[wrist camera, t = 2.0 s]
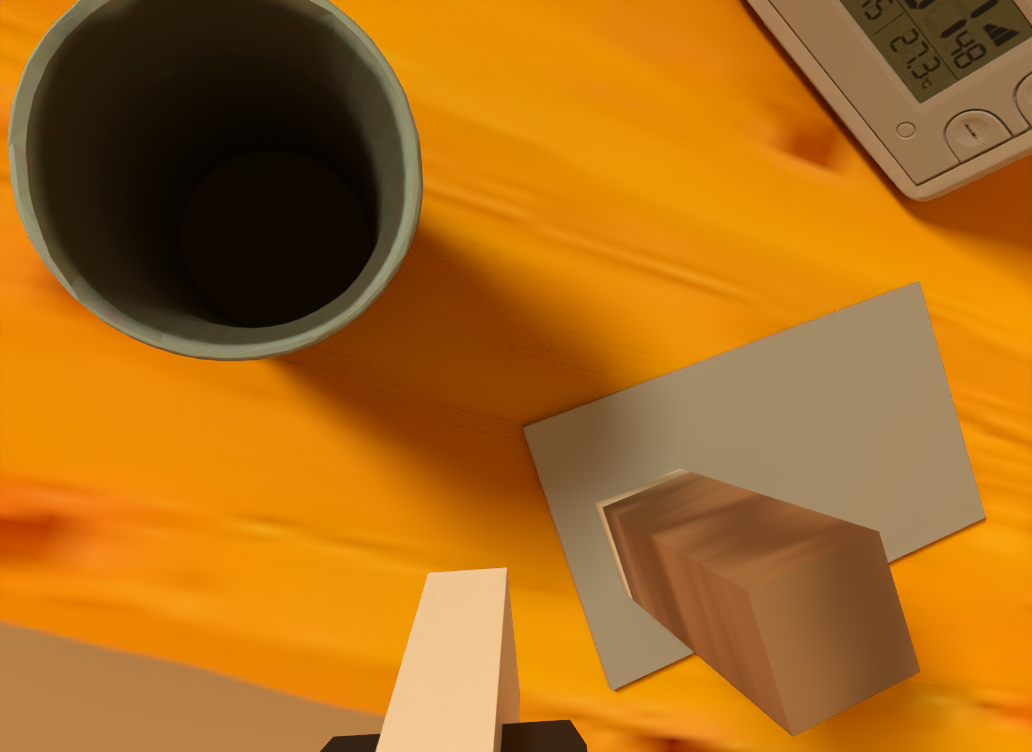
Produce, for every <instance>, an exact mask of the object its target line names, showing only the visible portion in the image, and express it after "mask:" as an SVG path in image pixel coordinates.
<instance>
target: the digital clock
mask: <svg viewBox="0 0 1032 752" xmlns="http://www.w3.org/2000/svg"><path fill="white" fill-rule="evenodd" d="M747 1H748V2H749V4H750V5H751V6H752V7H753V9H754V10H755V11H756V13H757V14H758V15H759V16H760V18H761V19H762V20H763V21H762V23H763V24H764V25H765V27H766V28H767V29H768V30H769V32H770V33H771V34H772V35H773V36H774V38H775V39H776V40H777V41H778V43H779V44H780V45H781V46H782V48H783V49H784V50H785V51H786V53H787V54H788V55H789V56H790V58H791V59H792V60H793V61H794V63H795V64H796V65H797V66H798V68H799V69H800V70H801V71H802V73H803V74H804V75H805V76H806V78H807V79H808V80H809V81H810V83H811V84H812V85H813V86H814V88H815V89H816V90H817V91H818V93H819V94H820V95H821V96H822V97H823V99H824V100H825V101H826V102H827V104H828V105H829V106H830V107H831V109H832V110H833V111H834V112H835V114H836V115H837V116H838V117H839V119H840V120H841V121H842V122H843V124H844V125H845V126H846V127H847V129H848V130H849V131H850V132H851V134H852V135H853V136H854V137H855V139H856V140H857V141H858V142H859V144H860V145H861V146H862V147H863V149H864V150H865V151H866V152H867V154H868V155H869V156H870V157H871V156H872V157H873V158H874V160H875V161H876V162H877V163H878V165H879V166H880V167H881V168H882V169H883V171H884V172H885V173H886V174H887V175H888V177H889V178H890V179H891V180H892V181H893V182H894V184H895V185H896V186H897V187H898V188H899V189H900V190H901V191H902V193H903V194H905V195H906V196H907V197H909V198H910V199H912V200H915V201H917V202H926V201H930V200H934V199H936V198H939V197H941V196H944V195H946V194H948V193H950V192H952V191H954V190H957V189H959V188H961V187H963V186H965V185H967V184H969V183H971V182H974V181H976V180H978V179H980V178H982V177H984V176H986V175H988V174H991V173H993V172H995V171H997V170H999V169H1001V168H1003V167H1005V166H1007V165H1010V164H1012V163H1014V162H1016V161H1018V160H1020V159H1022V158H1024V157H1027V156H1029V155H1031V154H1032V0H747Z"/></svg>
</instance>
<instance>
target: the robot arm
mask: <svg viewBox="0 0 1032 752" xmlns="http://www.w3.org/2000/svg"><path fill="white" fill-rule="evenodd" d="M519 704H520V691H519V681H518V671H517V662H516V652H515V642H514V632H513V622H512V613H511V603H510V593H509V583H508V573H507V568H494V569H480V570H466V571H452V572H438V573H428V576H427V579H426V583H425V586H424V590H423V593H422V596H421V600H420V603H419V606H418V610H417V613H416V617H415V620H414V623H413V627H412V630H411V634H410V637H409V640H408V644H407V647H406V650H405V654H404V657H403V661H402V664H401V667H400V671H399V674H398V678H397V681H396V684H395V688H394V691H393V695H392V698H391V701H390V705H389V708H388V711H387V715H386V718H385V722H384V725H383V729H382V732H381V734H370V735H355V736H337V737H333V738H332V739H331V740H330V741H329V742H328V743H327V744H326V746H325V747H324V748H323V749H322V750H321V751H320V752H587V745H586V743H585V742H584V740H583V739H582V737H581V736H580V734H579V733H578V731H577V730H576V728H575V727H574V725H573V724H572V722H571V721H570V720H557V721H541V722H525V723H519Z"/></svg>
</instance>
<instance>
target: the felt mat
mask: <svg viewBox="0 0 1032 752" xmlns="http://www.w3.org/2000/svg"><path fill="white" fill-rule="evenodd" d="M522 429H523V432H524V435H525V438H526V441H527V444H528V447H529V450H530V453H531V456H532V459H533V462H534V465H535V468H536V471H537V474H538V476H539V479H540V482H541V485H542V488H543V491H544V494H545V497H546V500H547V503H548V506H549V509H550V512H551V515H552V518H553V521H554V524H555V527H556V530H557V533H558V536H559V539H560V542H561V545H562V548H563V551H564V554H565V557H566V560H567V563H568V566H569V569H570V572H571V575H572V578H573V581H574V584H575V587H576V590H577V593H578V596H579V599H580V602H581V605H582V608H583V611H584V614H585V617H586V620H587V623H588V626H589V629H590V632H591V635H592V638H593V641H594V644H595V647H596V650H597V653H598V656H599V659H600V662H601V665H602V668H603V671H604V674H605V677H606V680H607V683H608V686H609V688H610V689H611V690H615V689H617V688H619V687H621V686H623V685H625V684H628V683H630V682H632V681H634V680H636V679H638V678H641V677H643V676H645V675H647V674H649V673H651V672H653V671H656V670H658V669H660V668H662V667H664V666H666V665H669V664H671V663H673V662H675V661H677V660H679V659H681V658H684V657H686V656H688V655H690V654H692V653H694V652H693V651H692V650H691V649H690V648H688V647H687V646H686V645H685V644H684V643H683V642H681V641H680V640H679V639H678V638H677V637H676V636H674V635H673V634H672V633H671V632H670V631H669V630H667V629H666V628H665V627H664V626H663V625H662V624H660V623H659V622H658V621H657V620H656V619H655V618H653V617H652V616H651V615H650V614H649V613H648V612H646V611H645V610H644V609H643V608H642V607H641V606H639V605H638V604H637V603H636V602H635V601H634V600H632V599H631V598H630V597H629V596H628V595H626V594H625V593H624V589H623V586H622V583H621V580H620V577H619V574H618V571H617V568H616V565H615V562H614V559H613V556H612V553H611V550H610V547H609V544H608V541H607V538H606V535H605V532H604V529H603V526H602V523H601V520H600V517H599V513H598V510H597V507H596V504H595V503H596V502H599V501H601V500H604V499H606V498H609V497H611V496H614V495H616V494H619V493H621V492H624V491H626V490H629V489H631V488H634V487H636V486H639V485H641V484H644V483H646V482H649V481H651V480H654V479H656V478H659V477H661V476H664V475H666V474H669V473H671V472H674V471H676V470H679V469H683V470H687V471H690V472H693V473H696V474H699V475H702V476H706V477H709V478H712V479H715V480H718V481H721V482H724V483H728V484H731V485H734V486H737V487H740V488H743V489H747V490H750V491H753V492H756V493H759V494H762V495H766V496H769V497H772V498H775V499H778V500H781V501H784V502H788V503H791V504H794V505H797V506H800V507H803V508H807V509H810V510H813V511H816V512H819V513H822V514H826V515H829V516H832V517H835V518H838V519H841V520H845V521H848V522H851V523H854V524H857V525H860V526H863V527H867V528H870V529H873V530H876V531H879V533H880V537H881V540H882V543H883V547H884V550H885V554H886V557H887V560H888V563H889V562H891V561H893V560H895V559H897V558H899V557H901V556H904V555H906V554H908V553H910V552H912V551H914V550H917V549H919V548H921V547H923V546H925V545H927V544H930V543H932V542H934V541H936V540H938V539H940V538H942V537H945V536H947V535H949V534H951V533H953V532H955V531H958V530H960V529H962V528H964V527H966V526H968V525H970V524H973V523H975V522H977V521H979V520H981V519H983V518H986V517H985V514H984V510H983V507H982V503H981V500H980V496H979V492H978V489H977V485H976V482H975V478H974V475H973V471H972V467H971V464H970V460H969V457H968V453H967V450H966V446H965V443H964V439H963V435H962V432H961V428H960V425H959V421H958V418H957V414H956V410H955V407H954V403H953V400H952V396H951V393H950V389H949V385H948V382H947V378H946V375H945V371H944V368H943V364H942V361H941V357H940V353H939V350H938V346H937V343H936V339H935V336H934V332H933V328H932V325H931V321H930V318H929V314H928V311H927V307H926V304H925V300H924V296H923V293H922V289H921V286H920V282H916V283H912V284H909V285H906V286H904V287H901V288H898V289H896V290H893V291H890V292H887V293H885V294H882V295H879V296H877V297H874V298H871V299H869V300H866V301H863V302H860V303H858V304H855V305H852V306H850V307H847V308H844V309H841V310H839V311H836V312H833V313H831V314H828V315H825V316H822V317H820V318H817V319H814V320H812V321H809V322H806V323H803V324H801V325H798V326H795V327H793V328H790V329H787V330H784V331H782V332H779V333H776V334H774V335H771V336H768V337H765V338H763V339H760V340H757V341H755V342H752V343H749V344H746V345H744V346H741V347H738V348H736V349H733V350H730V351H728V352H725V353H722V354H719V355H717V356H714V357H711V358H709V359H706V360H703V361H700V362H698V363H695V364H692V365H690V366H687V367H684V368H681V369H679V370H676V371H673V372H671V373H668V374H665V375H662V376H660V377H657V378H654V379H652V380H649V381H646V382H643V383H641V384H638V385H635V386H633V387H630V388H627V389H624V390H622V391H619V392H616V393H614V394H611V395H608V396H606V397H603V398H600V399H597V400H595V401H592V402H589V403H587V404H584V405H581V406H578V407H576V408H573V409H570V410H568V411H565V412H562V413H559V414H557V415H554V416H551V417H549V418H546V419H543V420H540V421H538V422H535V423H532V424H530V425H527V426H524V427H522Z"/></svg>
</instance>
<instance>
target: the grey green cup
mask: <svg viewBox="0 0 1032 752" xmlns="http://www.w3.org/2000/svg"><path fill="white" fill-rule="evenodd" d="M8 155H9V167H10V179H11V184H12V189H13V194H14V199H15V203H16V208H17V211H18V214H19V216H20V219H21V221H22V224H23V226H24V229H25V231H26V234H27V236H28V238H29V240H30V241H31V243H32V244H33V246H34V248H35V249H36V251H37V253H38V254H39V256H40V257H41V259H42V261H43V262H44V264H45V265H46V267H47V268H48V269H49V270H50V271H51V272H52V274H53V275H54V276H55V277H56V278H57V279H58V280H59V282H60V283H61V284H62V285H63V286H64V287H65V289H66V290H67V291H68V292H69V293H70V294H71V296H72V297H74V298H75V299H76V300H77V301H79V302H80V303H81V304H82V305H84V306H85V307H86V308H87V309H89V310H90V311H91V312H92V313H94V314H95V315H96V316H97V317H99V318H100V319H101V320H102V321H104V322H105V323H106V324H108V325H110V326H111V327H113V328H115V329H117V330H118V331H120V332H122V333H124V334H126V335H127V336H129V337H131V338H133V339H135V340H138V341H140V342H142V343H145V344H147V345H149V346H152V347H155V348H158V349H161V350H164V351H167V352H170V353H173V354H177V355H182V356H187V357H192V358H197V359H204V360H216V361H247V360H259V359H265V358H270V357H276V356H282V355H287V354H290V353H292V352H295V351H298V350H301V349H303V348H306V347H309V346H312V345H314V344H317V343H319V342H321V341H323V340H325V339H326V338H328V337H330V336H332V335H333V334H335V333H337V332H338V331H340V330H342V329H343V328H345V327H346V326H347V325H349V324H350V323H351V322H353V321H354V320H355V319H357V318H358V317H359V316H361V315H362V314H363V313H364V312H365V311H366V310H367V309H368V308H369V307H370V306H371V305H372V304H373V303H374V302H375V301H376V300H377V299H378V298H379V296H380V295H381V294H382V293H383V291H384V290H385V289H386V287H387V286H388V284H389V283H390V282H391V280H392V279H393V277H394V276H395V275H396V273H397V272H398V270H399V269H400V267H401V265H402V262H403V260H404V258H405V256H406V254H407V252H408V250H409V248H410V246H411V244H412V241H413V238H414V235H415V232H416V229H417V226H418V223H419V219H420V212H421V205H422V194H423V176H422V162H421V149H420V142H419V135H418V131H417V128H416V125H415V122H414V119H413V115H412V112H411V109H410V106H409V103H408V99H407V96H406V94H405V92H404V90H403V88H402V86H401V84H400V82H399V80H398V78H397V77H396V75H395V73H394V71H393V69H392V67H391V66H390V64H389V63H388V61H387V60H386V59H385V57H384V56H383V54H382V53H381V52H380V50H379V49H378V47H377V46H376V45H375V43H374V42H373V40H372V39H371V38H370V37H369V36H368V35H367V34H366V33H365V32H364V31H363V30H362V29H361V27H360V26H359V25H358V24H357V23H356V22H355V21H354V20H352V19H351V18H350V17H349V16H347V15H346V14H345V13H344V12H342V11H341V10H340V9H339V8H337V7H336V6H335V5H333V4H332V3H331V2H330V1H328V0H78V1H77V2H76V3H75V4H74V5H73V6H72V7H71V8H70V9H69V10H68V11H66V12H65V13H64V14H63V15H62V16H61V17H60V18H59V19H58V20H57V21H56V22H55V23H54V24H53V25H52V26H51V27H50V28H49V30H48V31H47V32H46V34H45V35H44V37H43V38H42V39H41V41H40V42H39V43H38V45H37V47H36V48H35V50H34V51H33V53H32V54H31V56H30V57H29V59H28V61H27V63H26V65H25V67H24V70H23V73H22V76H21V79H20V82H19V84H18V87H17V90H16V93H15V96H14V99H13V102H12V105H11V112H10V120H9V127H8Z"/></svg>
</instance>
